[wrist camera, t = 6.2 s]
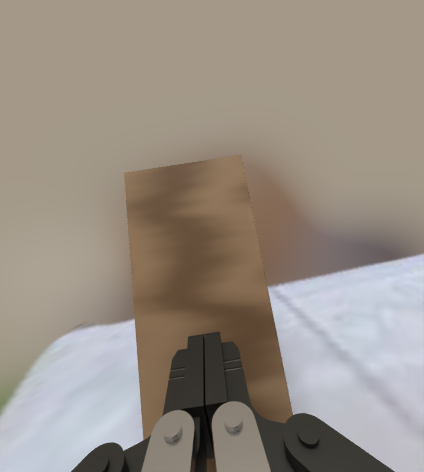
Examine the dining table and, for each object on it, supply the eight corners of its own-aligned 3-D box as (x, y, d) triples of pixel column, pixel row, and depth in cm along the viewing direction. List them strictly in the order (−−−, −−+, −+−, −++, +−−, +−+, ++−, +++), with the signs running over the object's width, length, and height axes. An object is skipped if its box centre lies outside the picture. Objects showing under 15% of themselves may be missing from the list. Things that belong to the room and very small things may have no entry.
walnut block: (279, 419, 15) (235, 187, 18) (305, 477, 10) (241, 154, 14) (169, 437, 15) (147, 200, 18) (148, 501, 10) (124, 172, 14)
